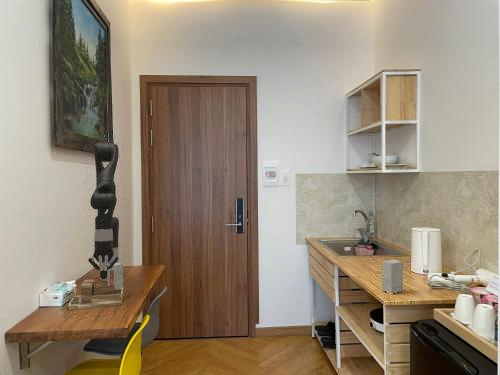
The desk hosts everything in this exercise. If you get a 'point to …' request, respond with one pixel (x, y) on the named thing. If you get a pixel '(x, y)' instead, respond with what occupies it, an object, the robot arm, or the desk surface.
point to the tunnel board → (94, 298)
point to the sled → (106, 287)
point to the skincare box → (117, 275)
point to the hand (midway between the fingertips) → (103, 278)
